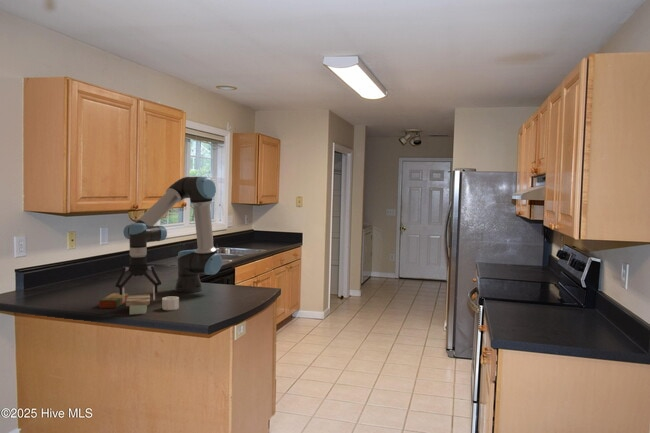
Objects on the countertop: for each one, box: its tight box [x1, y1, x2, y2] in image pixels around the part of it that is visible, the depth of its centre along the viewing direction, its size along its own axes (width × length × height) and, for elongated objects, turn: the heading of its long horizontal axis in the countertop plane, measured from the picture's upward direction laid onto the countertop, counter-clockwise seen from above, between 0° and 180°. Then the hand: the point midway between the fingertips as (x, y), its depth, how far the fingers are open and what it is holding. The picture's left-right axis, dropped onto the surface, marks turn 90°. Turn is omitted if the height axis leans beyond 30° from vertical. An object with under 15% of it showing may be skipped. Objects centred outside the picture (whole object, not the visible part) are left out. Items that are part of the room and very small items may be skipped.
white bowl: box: [161, 295, 180, 311], centre depth 238 cm, size 8×8×5 cm
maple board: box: [125, 293, 151, 307], centre depth 234 cm, size 15×10×2 cm, turn 18°
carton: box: [98, 292, 129, 309], centre depth 246 cm, size 8×16×4 cm, turn 2°
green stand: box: [129, 305, 148, 315], centre depth 234 cm, size 15×7×4 cm, turn 18°
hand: (138, 300), depth 234 cm, fingers open, 13 cm apart
